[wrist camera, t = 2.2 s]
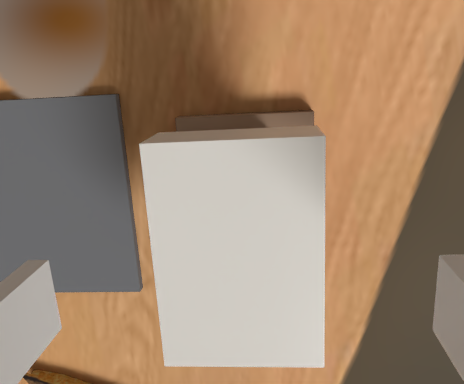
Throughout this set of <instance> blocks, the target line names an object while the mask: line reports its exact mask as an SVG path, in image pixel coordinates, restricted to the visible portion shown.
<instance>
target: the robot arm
mask: <svg viewBox="0 0 464 384" xmlns="http://www.w3.org/2000/svg"><path fill="white" fill-rule="evenodd" d="M61 328H62V326H61V321H60V316H59V311H58V306H57V301H56V296H55V290H54V285H53V280H52V275H51V270H50V265H49V260H27V261H26V262H25V263H24V264H22V265H21V266H20V267H19V268H17V269H16V270H15V271H14V272H13V273H11V274H10V275H9V276H8V277H6V278H5V279H4V280H3V281H1V282H0V384H18V383H19V381H20V380H21V379H22V378H23V376H24V375H25V374H26V373H27V371H28V370H29V369H30V368H31V366H32V365H33V364H34V362H35V361H36V360H37V359H38V357H39V356H40V355H41V354H42V352H43V351H44V350H45V349H46V347H47V346H48V345H49V344H50V342H51V341H52V340H53V339H54V337H55V336H56V335H57V333H58V332H59V331H60V330H61ZM433 331H434V333H435V335H436V336H437V338H438V340H439V341H440V343H441V345H442V346H443V348H444V349H445V351H446V353H447V354H448V356H449V358H450V359H451V361H452V363H453V364H454V366H455V368H456V369H457V371H458V373H459V374H460V376H461V377H462V379H463V381H464V255H439V264H438V275H437V286H436V299H435V308H434V320H433Z"/></svg>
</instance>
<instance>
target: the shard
mask: <svg viewBox="0 0 464 384" xmlns="http://www.w3.org/2000/svg"><path fill="white" fill-rule="evenodd" d="M23 378H24V379H25V380H26V381H27V382H28V383H29V384H91V383H88V382H84V381H82V380H79V379H76V378H72V377H70V376H67V375H64V374H60V373H55V372H48V371H44V370H33V371H32V373H31V374H29V373H26V374H25V375H24V376H23Z"/></svg>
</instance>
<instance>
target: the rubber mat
mask: <svg viewBox="0 0 464 384" xmlns="http://www.w3.org/2000/svg"><path fill="white" fill-rule="evenodd" d="M27 260H49V265H50V270H51V275H52V280H53V285H54V290H55V292H140V291H141V289H142V288H143V285H142V277H141V269H140V261H139V253H138V245H137V237H136V229H135V221H134V213H133V205H132V197H131V189H130V181H129V173H128V165H127V157H126V149H125V141H124V133H123V125H122V117H121V109H120V100H119V94H110V95H91V96H72V97H53V98H35V99H16V100H0V282H1V281H3V280H4V279H5V278H6V277H8V276H9V275H10V274H11V273H13V272H14V271H15V270H16V269H17V268H19V267H20V266H21V265H22V264H24V263H25V262H26V261H27Z"/></svg>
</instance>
